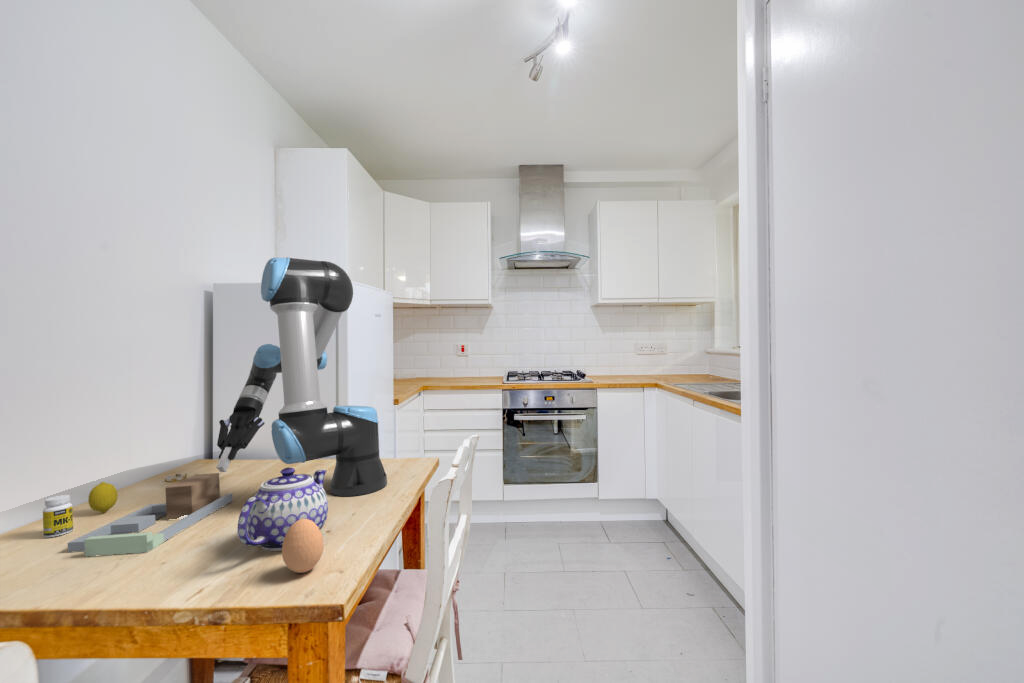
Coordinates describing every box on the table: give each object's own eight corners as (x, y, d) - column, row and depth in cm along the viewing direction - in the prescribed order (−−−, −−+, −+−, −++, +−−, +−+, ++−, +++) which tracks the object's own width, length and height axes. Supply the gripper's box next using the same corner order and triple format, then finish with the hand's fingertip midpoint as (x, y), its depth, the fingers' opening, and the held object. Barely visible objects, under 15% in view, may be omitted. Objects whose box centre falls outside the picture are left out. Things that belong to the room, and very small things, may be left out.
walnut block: (197, 504, 117) (195, 474, 117) (220, 502, 117) (218, 473, 117) (166, 520, 106) (165, 487, 106) (192, 519, 106) (191, 486, 106)
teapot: (274, 574, 77) (270, 489, 77) (204, 568, 80) (201, 486, 81) (357, 517, 101) (354, 453, 101) (301, 515, 105) (298, 452, 105)
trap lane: (163, 505, 117) (162, 492, 117) (232, 500, 118) (232, 487, 118) (53, 559, 87) (52, 541, 87) (147, 552, 88) (146, 535, 88)
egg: (309, 582, 74) (306, 527, 74) (274, 580, 75) (271, 527, 75) (332, 562, 80) (329, 512, 80) (299, 561, 81) (297, 512, 81)
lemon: (114, 507, 117) (113, 477, 117) (120, 511, 114) (119, 480, 114) (86, 514, 113) (85, 483, 113) (91, 518, 110) (90, 486, 110)
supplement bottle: (53, 538, 98) (52, 501, 98) (37, 538, 99) (36, 501, 99) (78, 529, 103) (77, 494, 103) (63, 529, 104) (61, 493, 104)
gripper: (275, 408, 144) (250, 474, 127) (235, 411, 143) (204, 477, 127) (266, 394, 139) (238, 461, 122) (224, 396, 138) (190, 464, 121)
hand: (221, 469), depth 124 cm, fingers closed
